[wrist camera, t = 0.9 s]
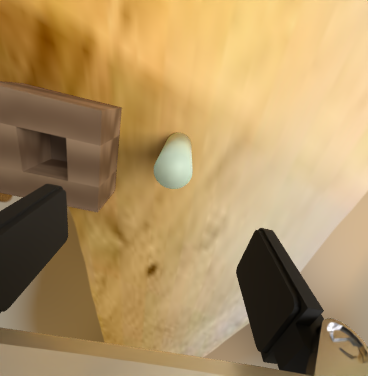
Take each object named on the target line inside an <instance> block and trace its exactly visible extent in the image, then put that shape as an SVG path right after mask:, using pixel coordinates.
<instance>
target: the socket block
mask: <svg viewBox="0 0 368 376" xmlns="http://www.w3.org/2000/svg"><path fill="white" fill-rule="evenodd" d="M120 121H121V107H117V106H113V105H109V104H105V103H100V102H96V101H92V100H88V99H84V98H80V97H76V96H72V95H68V94H64V93H60V92H56V91H52V90H47V89H43V88H39V87H35V86H31V85H27V84H23V83H13V82H1V81H0V193H4V194H9V195H14V196H19V197H25V196H26V195H28V194H30V193H31V192H33V191H35V190H36V189H38V188H40V187H41V186H43V185H45V184H53V185H58V186H61V187H62V188H63V190H65V191H66V198H67V206H69V207H74V208H79V209H84V210H89V211H94V212H98V211H99V210H100V209H101V208H102V206H103V205H104V204H105V203H106V201H107V200H108V199H109V198H110V196H111V195H112V194H113V193H114V191H115V183H116V171H117V158H118V146H119V133H120Z"/></svg>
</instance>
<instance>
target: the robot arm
mask: <svg viewBox="0 0 368 376" xmlns="http://www.w3.org/2000/svg"><path fill="white" fill-rule="evenodd" d="M67 238H68V222H67V198H66V191H65V190H63V188H62V187H61V186H58V185H53V184H45V185H43V186H41V187H40V188H38V189H36V190H35V191H33V192H31V193H30V194H28V195H26V196H25V197H23V198H21V199H20V200H19V201H17V202H15V203H13V204H12V205H10V206H8V207H6V208H5V209H3V210H1V211H0V313H1V311H6V310H7V309H8V308H9V307H10V306H11V305H12V304H13V303H14V301H15V300H16V299H17V298H18V297H19V296H20V295H21V293H22V292H23V291H24V290H25V289H26V287H27V286H28V285H29V284H30V283H31V281H32V280H33V279H34V278H35V277H36V276H37V275H38V274H39V272H40V271H41V270H42V269H43V268H44V266H45V265H46V264H47V263H48V262H49V261H50V259H51V258H52V257H53V256H54V255H55V254H56V253H57V251H58V250H59V249H60V248H61V247H62V245H63V244H64V243H65V242H66V240H67ZM236 274H237V278H238V281H239V285H240V289H241V293H242V296H243V300H244V304H245V307H246V311H247V315H248V318H249V322H250V326H251V329H252V333H253V337H254V340H255V344H256V347H257V349H258V351H260V352H261V355H262V358H263V361H264V362H267V363H274V364H278V367H279V370H277V369H271V368H265V367H260V366H254V365H247V364H240V363H234V362H227V361H221V360H215V359H209V358H202V357H196V356H189V355H183V354H176V353H170V352H163V351H156V350H150V349H143V348H136V347H130V346H123V345H116V344H109V343H103V342H95V341H89V340H82V339H75V338H69V337H62V336H55V335H48V334H40V333H34V332H27V331H20V330H13V329H5V328H0V376H368V346H367V345H366V343H365V342H364V341H363V339H362V338H361V337H360V336H359V335H358V334H357V333H356V332H355V331H353V330H352V329H351V328H350V327H349V326H347V325H346V324H344V323H342V322H341V321H338V320H336V319H334V318H326V319H324V318H323V317H322V315H321V313H322V312H323V311H324V310H323V309H322V307H321V306H320V304H319V302H318V301H317V299H316V298H315V296H314V295H313V293H312V292H311V290H310V289H309V287H308V285H307V283H306V282H305V280H304V279H303V277H302V276H301V274H300V272H299V271H298V269H297V268H296V266H295V265H294V263H293V261H292V260H291V258H290V257H289V255H288V254H287V252H286V250H285V249H284V247H283V246H282V244H281V243H280V241H279V239H278V238H277V236H276V235H275V233H274V232H273V231H272V230H268V229H264V228H260V229H258V230H256V231H255V232H254V234H253V236H252V238H251V240H250V242H249V244H248V246H247V248H246V250H245V252H244V254H243V256H242V258H241V260H240V262H239V264H238V266H237V270H236Z"/></svg>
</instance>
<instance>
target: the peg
mask: <svg viewBox="0 0 368 376" xmlns="http://www.w3.org/2000/svg"><path fill="white" fill-rule="evenodd" d="M154 175H155V178H156V179H157V181H158V182H159V183H160V184H161V185H162V186H164V187H166V188H170V189H178V188H181V187H183V186H185V185H186V184H187V183H188V182H189V181H190V179H191V177H192V152H191V141H190V139H189V138H188V136H186V135H185V134H183V133H174V134H172V135H171V136H169V138H168V139H167V141H166V143H165V145H164V147H163V149H162V151H161V153H160V155H159V157H158V159H157V161H156V163H155V165H154Z"/></svg>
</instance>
